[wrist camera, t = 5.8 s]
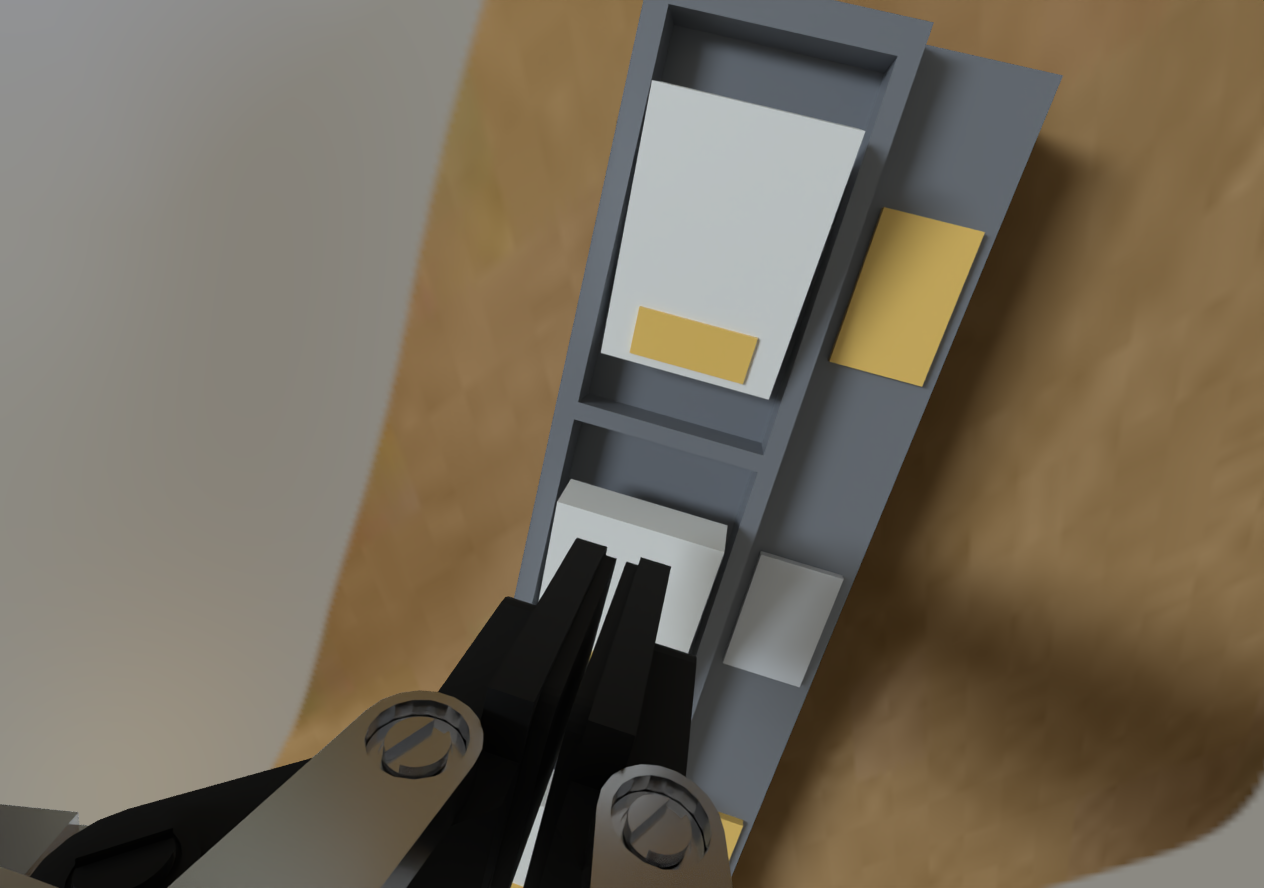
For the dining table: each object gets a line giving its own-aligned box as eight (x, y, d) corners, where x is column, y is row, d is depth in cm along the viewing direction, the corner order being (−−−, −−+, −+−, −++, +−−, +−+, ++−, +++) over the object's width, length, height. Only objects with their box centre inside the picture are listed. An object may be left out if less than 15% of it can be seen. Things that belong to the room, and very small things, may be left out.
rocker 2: (662, 81, 11) (651, 80, 10) (858, 129, 11) (866, 131, 10) (612, 336, 14) (599, 354, 13) (769, 380, 13) (768, 401, 12)
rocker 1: (571, 478, 14) (555, 503, 13) (727, 525, 13) (724, 554, 12) (539, 638, 16) (525, 669, 15) (672, 681, 16) (665, 714, 15)
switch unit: (664, 36, 15) (640, -43, 11) (997, 113, 14) (1093, 58, 10) (488, 802, 22) (438, 911, 19) (699, 876, 22) (691, 1004, 18)
